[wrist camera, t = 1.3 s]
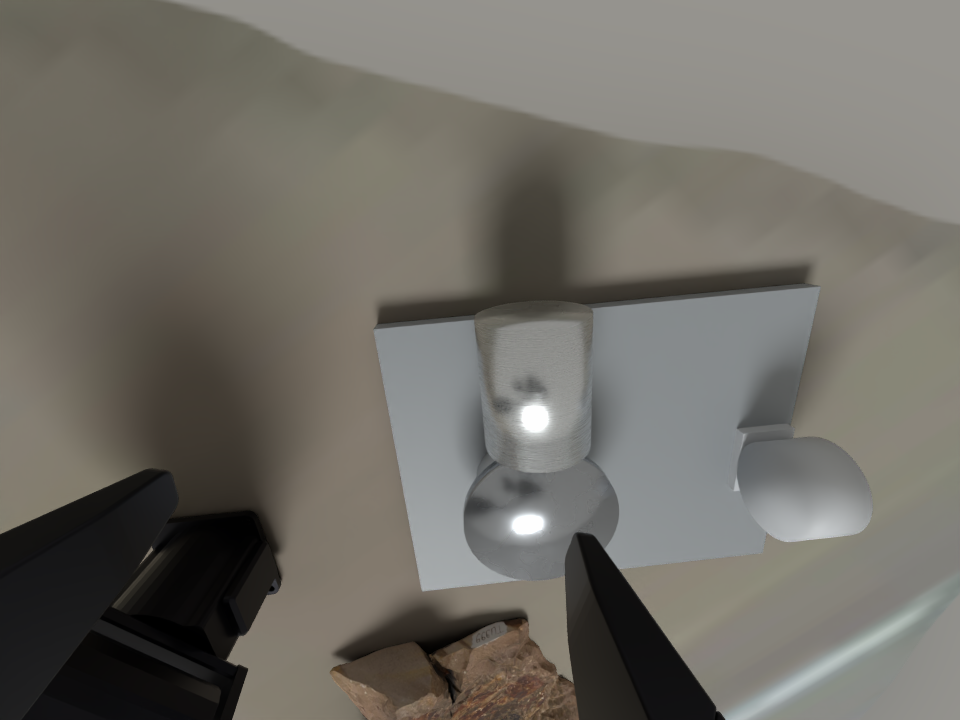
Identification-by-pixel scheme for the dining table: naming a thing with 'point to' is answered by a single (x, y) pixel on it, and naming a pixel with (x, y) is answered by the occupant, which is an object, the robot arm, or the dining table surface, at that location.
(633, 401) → the grey plate with knobs
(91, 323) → the dining table surface
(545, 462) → the elbow
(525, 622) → the fossil
